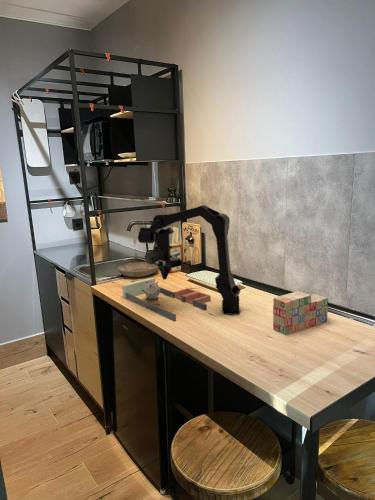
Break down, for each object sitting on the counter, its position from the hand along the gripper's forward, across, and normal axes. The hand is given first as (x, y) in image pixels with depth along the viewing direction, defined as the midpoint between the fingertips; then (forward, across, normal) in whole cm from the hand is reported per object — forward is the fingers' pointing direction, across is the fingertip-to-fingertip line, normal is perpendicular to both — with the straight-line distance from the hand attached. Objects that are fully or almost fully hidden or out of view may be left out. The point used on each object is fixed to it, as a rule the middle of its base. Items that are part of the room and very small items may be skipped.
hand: (164, 279), depth 160 cm
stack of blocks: (+12, +53, +23) cm, 58 cm away
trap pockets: (+11, +2, +13) cm, 17 cm away
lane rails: (+12, -2, 0) cm, 12 cm away
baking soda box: (+12, -43, +37) cm, 58 cm away
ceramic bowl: (+12, -52, +19) cm, 57 cm away
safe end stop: (+12, -22, 0) cm, 24 cm away
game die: (+12, -11, 0) cm, 16 cm away
